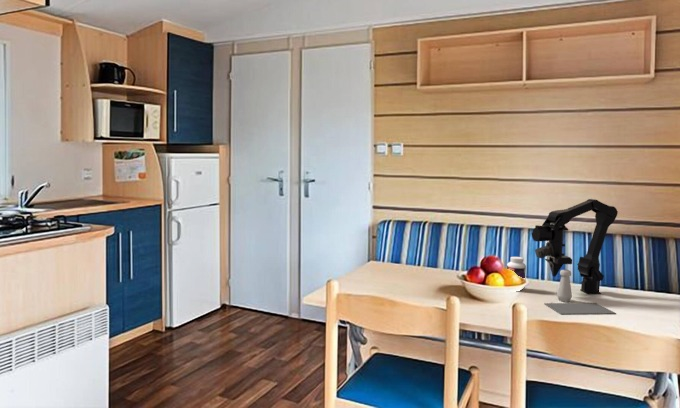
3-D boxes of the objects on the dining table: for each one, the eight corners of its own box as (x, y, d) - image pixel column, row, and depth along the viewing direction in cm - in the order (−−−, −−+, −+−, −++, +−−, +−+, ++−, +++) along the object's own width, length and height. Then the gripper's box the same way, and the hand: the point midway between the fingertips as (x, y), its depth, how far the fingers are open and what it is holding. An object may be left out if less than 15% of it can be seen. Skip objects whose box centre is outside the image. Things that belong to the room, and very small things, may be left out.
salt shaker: (559, 298, 232) (560, 267, 231) (573, 300, 229) (575, 269, 228) (554, 300, 228) (556, 270, 227) (568, 303, 224) (570, 272, 223)
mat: (595, 303, 224) (595, 302, 224) (615, 314, 210) (615, 313, 210) (544, 304, 222) (544, 303, 222) (560, 314, 208) (560, 313, 208)
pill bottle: (504, 290, 244) (505, 258, 243) (507, 286, 251) (509, 255, 250) (523, 292, 241) (524, 260, 239) (526, 288, 248) (527, 257, 246)
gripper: (528, 237, 244) (526, 271, 246) (548, 244, 226) (546, 281, 227) (552, 237, 245) (550, 271, 247) (573, 244, 227) (571, 281, 228)
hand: (553, 276), depth 237 cm, fingers closed
